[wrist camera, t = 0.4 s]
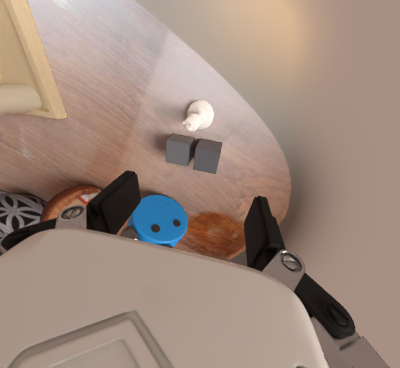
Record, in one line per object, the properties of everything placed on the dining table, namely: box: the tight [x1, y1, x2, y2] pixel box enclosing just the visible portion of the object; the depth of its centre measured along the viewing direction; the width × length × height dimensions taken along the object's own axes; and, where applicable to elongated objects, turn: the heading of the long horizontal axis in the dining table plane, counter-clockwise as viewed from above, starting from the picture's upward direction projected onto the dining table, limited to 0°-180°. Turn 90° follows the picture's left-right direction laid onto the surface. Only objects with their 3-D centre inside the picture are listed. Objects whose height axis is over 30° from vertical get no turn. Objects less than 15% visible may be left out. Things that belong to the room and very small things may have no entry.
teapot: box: [0, 190, 46, 243], centre depth 49 cm, size 19×31×15 cm, turn 11°
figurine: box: [39, 185, 102, 223], centre depth 39 cm, size 14×16×15 cm
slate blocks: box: [166, 134, 222, 174], centre depth 29 cm, size 4×10×5 cm, turn 83°
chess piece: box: [182, 100, 214, 132], centre depth 24 cm, size 5×5×10 cm
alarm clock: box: [120, 195, 188, 248], centre depth 36 cm, size 13×6×15 cm, turn 61°
